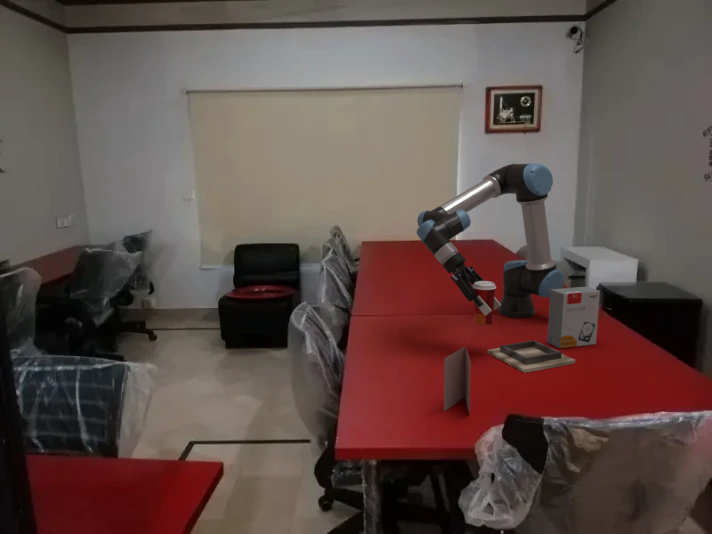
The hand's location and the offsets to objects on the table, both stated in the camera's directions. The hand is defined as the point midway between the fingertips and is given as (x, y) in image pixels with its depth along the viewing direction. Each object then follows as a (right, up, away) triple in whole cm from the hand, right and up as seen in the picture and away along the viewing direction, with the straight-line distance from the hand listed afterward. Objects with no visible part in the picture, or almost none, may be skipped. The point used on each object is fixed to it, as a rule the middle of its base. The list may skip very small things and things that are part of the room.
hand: (493, 310), depth 187 cm
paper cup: (-3, -5, +3) cm, 6 cm away
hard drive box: (+31, -13, +13) cm, 37 cm away
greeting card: (-17, -24, -35) cm, 46 cm away
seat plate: (+12, -16, 0) cm, 20 cm away
